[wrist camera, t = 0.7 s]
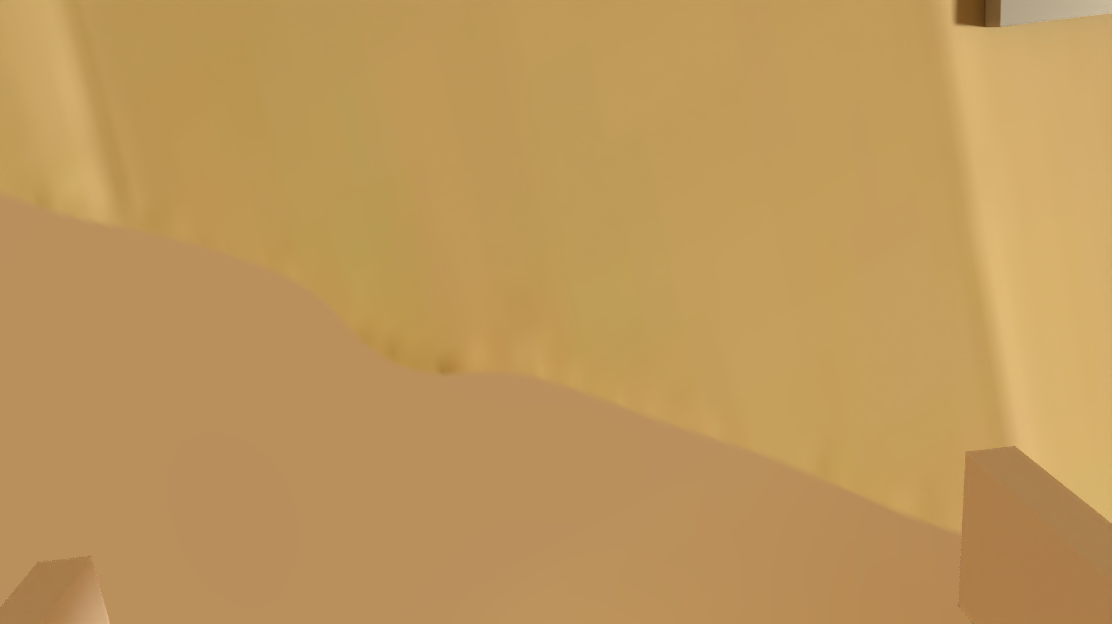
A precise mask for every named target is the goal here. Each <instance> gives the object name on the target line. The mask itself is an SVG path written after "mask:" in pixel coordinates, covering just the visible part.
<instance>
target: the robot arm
mask: <svg viewBox="0 0 1112 624" xmlns="http://www.w3.org/2000/svg"><path fill="white" fill-rule="evenodd" d="M958 606H959V608H960V609H961V610H962V611H963V613H964V614H965V615H966V616H967V617H968V619H969V620H970V621H971V622H972V624H1112V524H1111V523H1110V522H1109V521H1108V520H1106V519H1105V518H1104V517H1103V516H1101V515H1100V514H1099V513H1098V512H1096V511H1095V510H1094V509H1093V508H1091V507H1090V506H1089V505H1088V504H1086V503H1085V502H1084V501H1083V500H1081V499H1080V498H1079V497H1078V496H1076V495H1075V494H1074V493H1073V492H1071V491H1070V490H1069V489H1068V488H1066V487H1065V486H1064V485H1063V484H1061V483H1060V482H1059V481H1058V480H1056V479H1055V478H1054V477H1053V476H1051V475H1050V474H1049V473H1048V472H1046V471H1045V470H1044V469H1043V468H1041V467H1040V466H1039V465H1038V464H1036V463H1035V462H1034V461H1033V460H1031V459H1030V458H1029V457H1028V456H1026V455H1025V454H1024V453H1023V452H1021V451H1020V450H1019V449H1018V448H1016V447H1015V446H1012V447H1003V448H995V449H986V450H978V451H970V452H966V457H965V478H964V498H963V519H962V541H961V561H960V583H959V603H958ZM0 624H110V622H109V618H108V615H107V611H106V607H105V604H104V600H103V597H102V593H101V590H100V586H99V583H98V579H97V576H96V572H95V569H94V565H93V562H92V558H91V556H88V557H78V558H71V559H62V560H53V561H46V562H38V563H37V564H36V565H35V566H34V567H33V569H32V570H31V571H30V572H29V574H28V575H27V576H26V577H25V578H24V580H23V581H22V582H21V583H20V584H19V586H18V587H17V588H16V589H15V591H14V592H13V593H12V594H11V595H10V596H9V598H8V599H7V600H6V601H5V602H4V604H3V605H2V606H1V607H0Z"/></svg>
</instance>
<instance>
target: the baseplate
mask: <svg viewBox="0 0 1112 624" xmlns="http://www.w3.org/2000/svg"><path fill="white" fill-rule="evenodd" d="M1108 13H1112V0H985V27H1004V26H1012V25H1020V24H1028V23H1036V22H1044V21H1052V20H1060V19H1068V18H1076V17H1084V16H1092V15H1100V14H1108Z"/></svg>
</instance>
